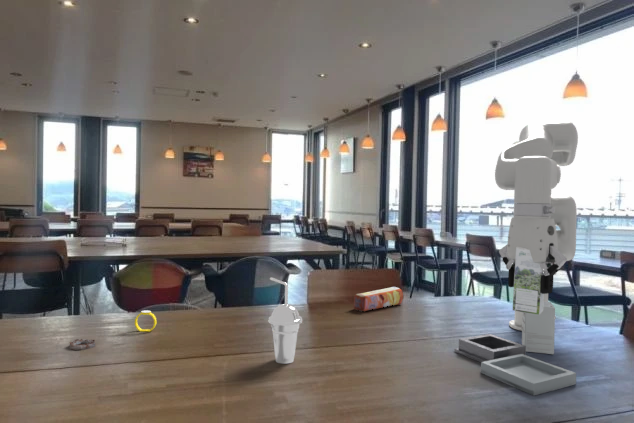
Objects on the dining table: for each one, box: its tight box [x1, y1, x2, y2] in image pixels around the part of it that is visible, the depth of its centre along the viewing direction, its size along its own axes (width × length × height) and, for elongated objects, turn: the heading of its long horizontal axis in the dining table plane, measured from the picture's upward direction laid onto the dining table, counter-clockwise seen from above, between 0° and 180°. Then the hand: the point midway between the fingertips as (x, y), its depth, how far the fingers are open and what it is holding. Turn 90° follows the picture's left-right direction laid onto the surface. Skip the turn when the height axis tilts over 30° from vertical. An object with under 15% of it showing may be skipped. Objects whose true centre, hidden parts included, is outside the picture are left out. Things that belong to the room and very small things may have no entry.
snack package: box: [353, 286, 404, 312], centre depth 173 cm, size 21×7×7 cm, turn 130°
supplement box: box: [521, 301, 556, 355], centre depth 126 cm, size 7×7×13 cm
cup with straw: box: [267, 276, 304, 365], centre depth 113 cm, size 8×9×20 cm
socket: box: [453, 333, 527, 363], centre depth 120 cm, size 13×13×4 cm
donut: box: [68, 338, 96, 351], centre depth 121 cm, size 8×8×2 cm
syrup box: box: [512, 247, 544, 315], centre depth 104 cm, size 6×6×14 cm
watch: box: [134, 309, 158, 333], centre depth 136 cm, size 6×3×6 cm, turn 93°
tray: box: [480, 354, 577, 397], centre depth 105 cm, size 14×14×2 cm
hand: (529, 289), depth 104 cm, fingers closed on syrup box, 7 cm apart
